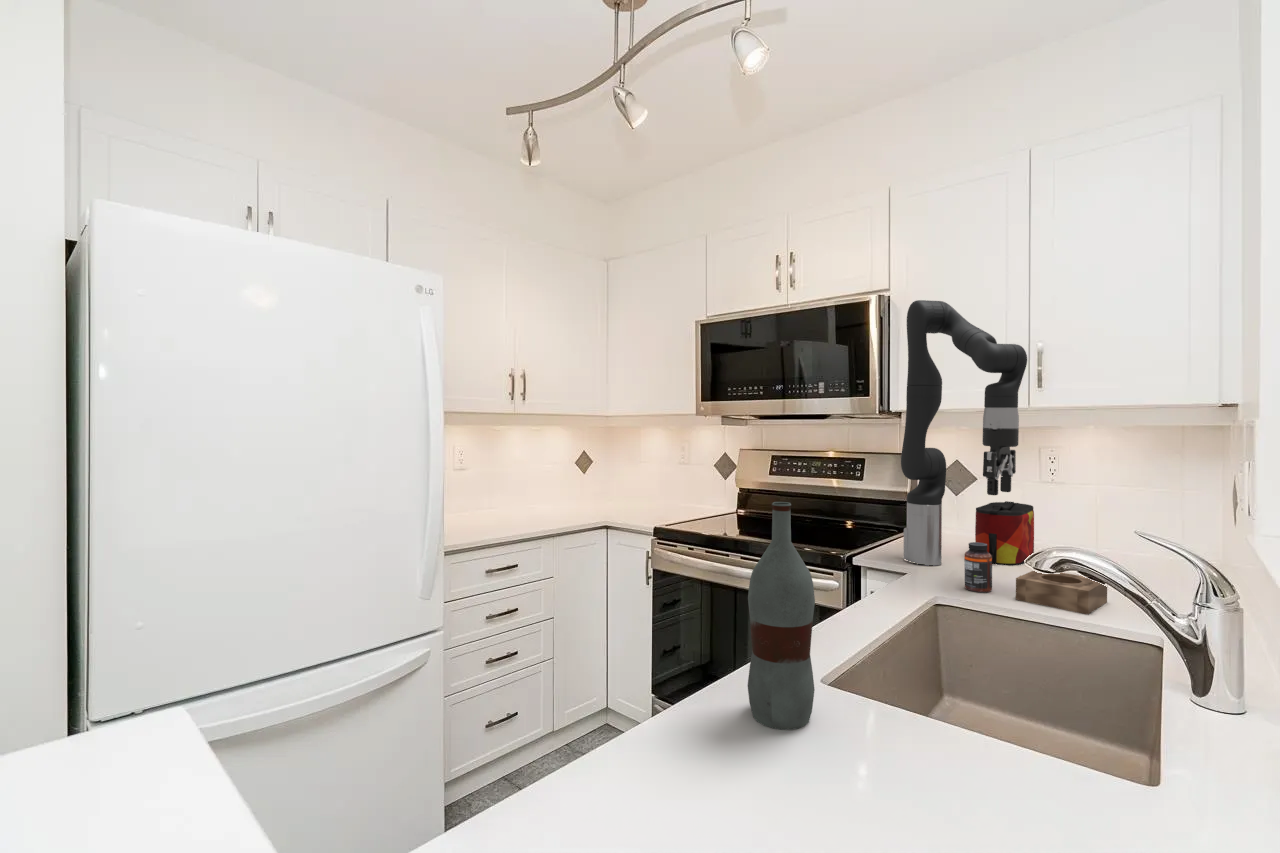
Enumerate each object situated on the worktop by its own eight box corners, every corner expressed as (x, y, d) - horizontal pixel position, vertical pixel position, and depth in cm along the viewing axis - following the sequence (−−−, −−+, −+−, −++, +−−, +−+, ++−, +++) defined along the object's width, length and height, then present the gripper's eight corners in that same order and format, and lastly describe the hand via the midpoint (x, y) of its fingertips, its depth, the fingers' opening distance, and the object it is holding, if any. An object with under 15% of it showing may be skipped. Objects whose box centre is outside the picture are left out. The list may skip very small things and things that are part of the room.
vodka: (771, 694, 94) (772, 497, 93) (827, 715, 87) (828, 503, 87) (734, 715, 87) (734, 503, 87) (791, 739, 81) (792, 510, 80)
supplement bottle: (985, 586, 154) (985, 541, 153) (996, 593, 148) (997, 546, 147) (960, 586, 154) (960, 540, 154) (970, 592, 148) (970, 545, 148)
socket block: (1015, 599, 143) (1015, 577, 143) (1037, 588, 152) (1037, 568, 152) (1088, 614, 132) (1088, 591, 132) (1107, 601, 141) (1107, 580, 141)
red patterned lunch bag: (1015, 570, 170) (1015, 511, 170) (961, 562, 180) (961, 506, 180) (1040, 553, 192) (1040, 500, 192) (990, 546, 202) (990, 496, 201)
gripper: (994, 425, 157) (993, 489, 157) (972, 426, 148) (971, 494, 148) (1028, 426, 151) (1026, 492, 152) (1006, 427, 142) (1005, 497, 142)
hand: (999, 493), depth 150 cm, fingers open, 8 cm apart
